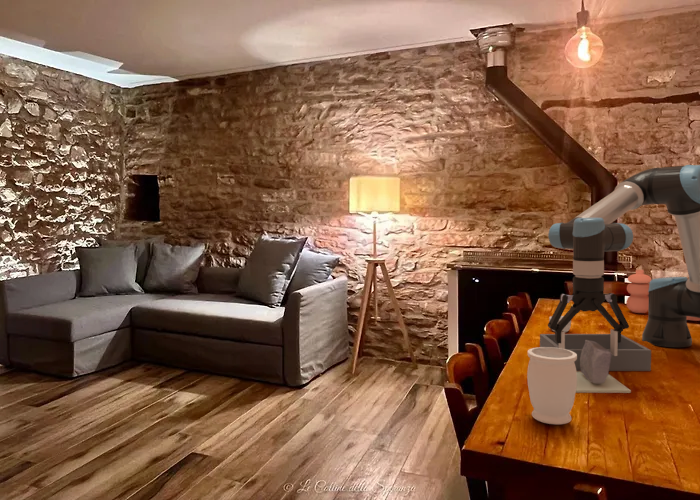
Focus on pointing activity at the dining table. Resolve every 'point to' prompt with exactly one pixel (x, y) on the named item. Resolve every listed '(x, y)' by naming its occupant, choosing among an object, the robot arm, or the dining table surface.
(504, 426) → the dining table surface
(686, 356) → the dining table surface
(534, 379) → the jar
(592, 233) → the robot arm
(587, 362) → the stone block
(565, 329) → the teacup
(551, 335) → the access frame
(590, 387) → the board
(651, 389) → the dining table surface
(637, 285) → the ceramic vessels
